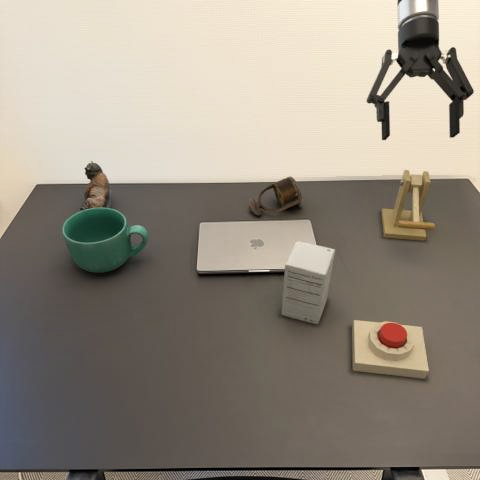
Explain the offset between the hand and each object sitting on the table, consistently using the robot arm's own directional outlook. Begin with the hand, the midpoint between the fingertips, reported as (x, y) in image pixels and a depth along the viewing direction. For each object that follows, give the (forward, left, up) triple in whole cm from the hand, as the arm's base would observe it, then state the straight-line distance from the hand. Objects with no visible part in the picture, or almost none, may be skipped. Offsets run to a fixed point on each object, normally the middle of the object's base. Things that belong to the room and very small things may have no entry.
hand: (420, 136), depth 93 cm
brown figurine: (+70, +3, -22) cm, 74 cm away
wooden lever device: (-2, -1, -22) cm, 22 cm away
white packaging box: (+19, +29, -22) cm, 41 cm away
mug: (+60, +21, -22) cm, 68 cm away
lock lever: (-2, +4, -13) cm, 14 cm away
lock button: (+4, +38, -18) cm, 43 cm away
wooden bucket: (+28, -5, -22) cm, 36 cm away
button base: (+4, +38, -21) cm, 44 cm away
